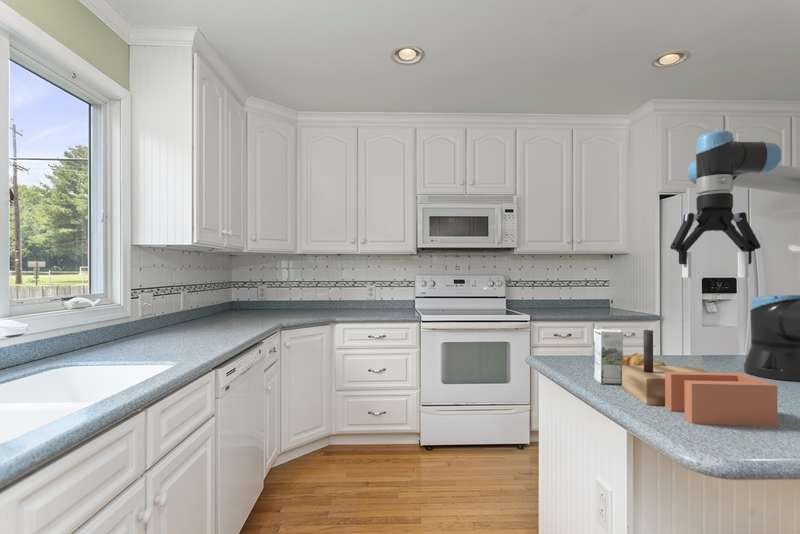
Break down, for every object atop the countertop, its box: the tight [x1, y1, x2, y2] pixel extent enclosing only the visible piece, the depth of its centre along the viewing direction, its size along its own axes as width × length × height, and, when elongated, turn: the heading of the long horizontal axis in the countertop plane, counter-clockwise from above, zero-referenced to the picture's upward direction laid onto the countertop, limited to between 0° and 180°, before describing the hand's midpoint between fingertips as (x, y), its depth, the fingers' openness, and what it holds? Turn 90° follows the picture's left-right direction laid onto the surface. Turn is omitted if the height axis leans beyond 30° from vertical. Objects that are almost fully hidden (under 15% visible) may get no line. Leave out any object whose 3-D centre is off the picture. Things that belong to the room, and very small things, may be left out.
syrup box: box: [593, 327, 624, 385], centre depth 116 cm, size 6×6×14 cm
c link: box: [664, 371, 778, 427], centre depth 89 cm, size 16×10×8 cm, turn 85°
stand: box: [621, 329, 709, 406], centre depth 103 cm, size 18×13×16 cm
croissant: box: [623, 352, 667, 366], centre depth 122 cm, size 21×10×8 cm, turn 31°
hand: (714, 277), depth 108 cm, fingers open, 13 cm apart
